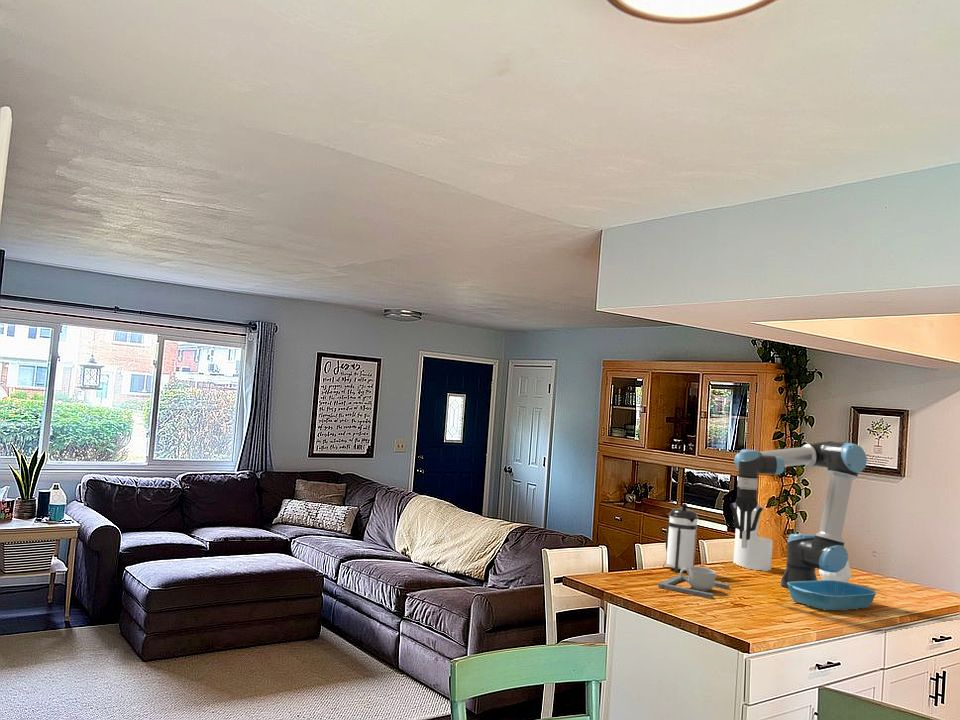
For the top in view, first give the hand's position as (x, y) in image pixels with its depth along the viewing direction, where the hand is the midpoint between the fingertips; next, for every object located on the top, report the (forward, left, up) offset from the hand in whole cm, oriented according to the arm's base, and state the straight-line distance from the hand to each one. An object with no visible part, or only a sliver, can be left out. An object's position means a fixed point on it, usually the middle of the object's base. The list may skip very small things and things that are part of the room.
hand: (744, 547), depth 312 cm
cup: (-25, -69, -19) cm, 76 cm away
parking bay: (+17, +4, -19) cm, 26 cm away
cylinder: (+12, -71, -19) cm, 75 cm away
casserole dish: (-30, -18, -20) cm, 40 cm away
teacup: (+17, +4, -19) cm, 26 cm away
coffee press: (+35, -28, -19) cm, 49 cm away
